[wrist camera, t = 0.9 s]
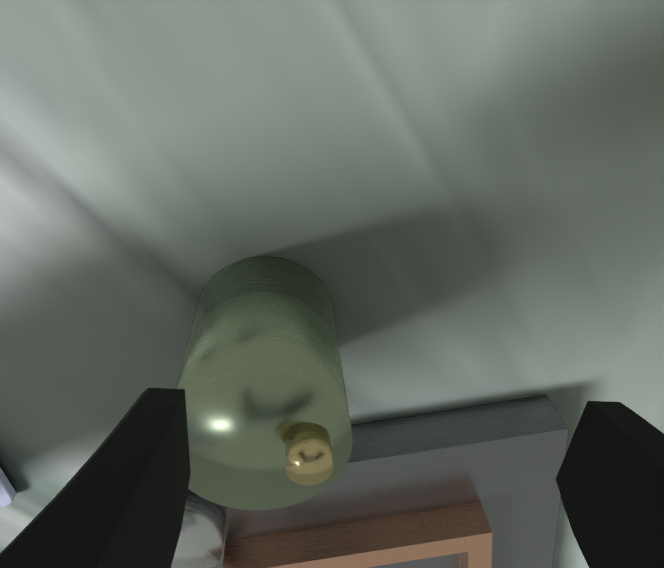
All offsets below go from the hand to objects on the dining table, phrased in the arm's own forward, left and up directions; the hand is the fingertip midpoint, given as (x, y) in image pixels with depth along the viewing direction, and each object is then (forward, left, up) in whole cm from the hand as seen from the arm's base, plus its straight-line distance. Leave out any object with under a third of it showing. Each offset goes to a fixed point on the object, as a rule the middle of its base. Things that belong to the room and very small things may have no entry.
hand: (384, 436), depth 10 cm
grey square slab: (-1, -18, -10) cm, 21 cm away
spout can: (-3, -3, -10) cm, 11 cm away
